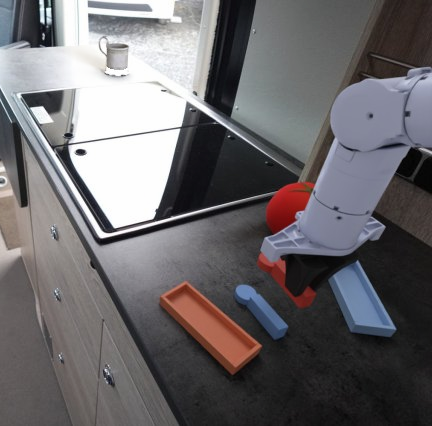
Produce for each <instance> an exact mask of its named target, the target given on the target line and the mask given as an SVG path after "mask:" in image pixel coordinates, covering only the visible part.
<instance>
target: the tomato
mask: <svg viewBox="0 0 432 426" xmlns="http://www.w3.org/2000/svg"><path fill="white" fill-rule="evenodd" d="M315 184H316V183H312V182H306V181H301V180H299V182H294V183H290V184H286V185H284V186H283V187H282V188H280V189H278V191H276V193H275V194H274V195H273V196H272V198H271V199H270V200H269V202H268V204H267V206H266V211H265V220H266V224H267V226H268V228H269V230H270V232H271V233H272V234H273V235H275V234H277V233H278V232H280V231H282V230H283V229H285V228H286V227H288V226H290V225H291V224H293V223H294V222H296V221H297V219H296V218H295V216H296V213H297V212H300V211H305V208H306V206H307V204H308V201H309V199H310V196H311V194H312V191H313V189H314V187H315Z"/></svg>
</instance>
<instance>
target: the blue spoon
mask: <svg viewBox="0 0 432 426" xmlns="http://www.w3.org/2000/svg"><path fill="white" fill-rule="evenodd" d="M233 296H234V299H235V301H236V302H238V304H240V305H243V306H246V308H247V309H248V310H249V311H250V313H251V314H252V316H254V317H255V319H256V320H257V321H258V322H259V324H260V325H261V326H262V327H263V328H264V329H265V331H266V333H268V334H269V336H270V337H271V338H272V339H273V340H274V341H275V340H278V339H281V338H283V337H285V335H286V333H287V330H288V328H289V325H288V324H287V323H286V322H285V321H284V320H283V319H282V318H281V316H280V315H279V314H278V313H277V312H276V311H275V309H274V308H272V306H271V305H270V304H269V303H268V302H267V300H266V299H264V297H263V296H262V295H261V294H260V293H257V291H256V290H255V289H254V287H253V286H250V285H248V284H240V285H239V284H238V285H237V286H236V288H235V291H234V294H233Z"/></svg>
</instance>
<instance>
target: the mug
mask: <svg viewBox="0 0 432 426" xmlns="http://www.w3.org/2000/svg"><path fill="white" fill-rule="evenodd" d="M102 39H104V40H105V41H106V44H105V48H106V52H104V51H103V50H102V47H101V40H102ZM98 48H99V51H100V52H101V53H102V54H103V55H104V56H105V58H106V63H105V64H106V65H105V66H107V67H108V68H110V69H114V70H124V69H126V68H128V61H129V48H130V45H128V44H126V43H120V42H119V43H118V42H116V43H115V42H113V43H109V39H108V35H102V36H101V37H100V38H99V39H98Z"/></svg>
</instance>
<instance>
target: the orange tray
mask: <svg viewBox="0 0 432 426" xmlns="http://www.w3.org/2000/svg"><path fill="white" fill-rule="evenodd" d="M158 304H159V305H160V306H161V307H162V308H163V309H164V310H165V311H166V312H167V313H168V314H169V315H170V316H171V317H172V318H173V319H174V320H175V321H176V322H177V323H178V324H179V325H180V326H182V328H183V329H185V331H187V333H189V334H190V336H192V337H193V338H194V339H195V340H196V341H197V342H198V343H199V345H201V346H202V347H203V348H204V349H205V350H206V351H207V352H208V353H209V354H210V355H211V357H213V358H214V359H215V360H216V361H217V362H218V363H219V364H220V365H221V366H222V367H223V368H224V369H225V370H226V371H228V373H230V374H231V375H232V376H234V375H235V374H236V373H237V372H239V371H240V370H241V369H242V368H243V367H244V366H245V365H247V364H248V363H249V362H251V360H252V359H254V358H255V357H256V356H258V354H259V353H260V351H261V350H262V347H263V345H262V344H260V343H259V342H258V341H257V340H256V339H255V338H254V337H252V335H250V334H249V333H248V332H247V331H245V330H244V329H243V328H242V327H241V326H239V324H237V323H236V322H235V321H234V320H233V319H231V317H229V316H228V315H227V314H225V313H224V312H223V311H222V310H221V309H220V308H219V307H217V306H216V305H215V304H214V303H212V301H211V300H209V299H208V298H207V297H206V296H204V295H203V294H202V293H201V292H200V291H199V290H198V289H197V288H196V287H194V286H193V285H192V284H191V283H190V282H188V281H187V280H185V281H183V282H181V283H180V284H178V285H176V286H174V287H173V288H172V289H170V290H168V291H166V292H165V293H163V294H161V295H160V296H159V303H158Z"/></svg>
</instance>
